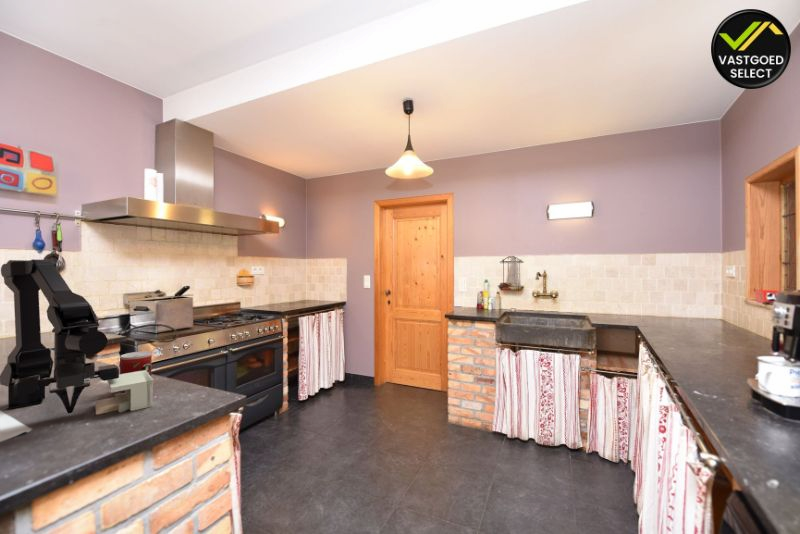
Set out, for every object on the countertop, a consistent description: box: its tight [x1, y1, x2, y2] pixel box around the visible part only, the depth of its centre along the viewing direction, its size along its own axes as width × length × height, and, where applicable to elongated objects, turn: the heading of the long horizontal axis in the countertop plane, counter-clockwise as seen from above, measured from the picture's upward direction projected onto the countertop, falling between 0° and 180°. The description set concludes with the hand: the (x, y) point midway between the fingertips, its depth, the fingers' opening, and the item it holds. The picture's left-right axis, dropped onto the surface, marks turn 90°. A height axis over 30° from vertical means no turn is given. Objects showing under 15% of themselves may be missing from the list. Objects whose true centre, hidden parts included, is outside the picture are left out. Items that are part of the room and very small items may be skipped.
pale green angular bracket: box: [106, 370, 154, 413], centre depth 95 cm, size 9×13×7 cm
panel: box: [94, 394, 130, 415], centre depth 94 cm, size 10×6×2 cm, turn 133°
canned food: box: [119, 350, 153, 393], centre depth 106 cm, size 8×8×11 cm
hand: (70, 412), depth 87 cm, fingers closed
